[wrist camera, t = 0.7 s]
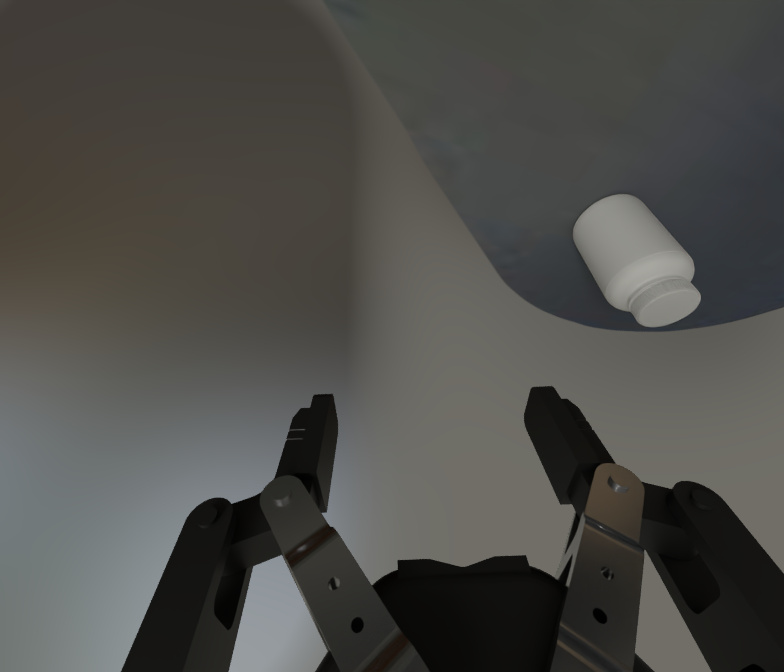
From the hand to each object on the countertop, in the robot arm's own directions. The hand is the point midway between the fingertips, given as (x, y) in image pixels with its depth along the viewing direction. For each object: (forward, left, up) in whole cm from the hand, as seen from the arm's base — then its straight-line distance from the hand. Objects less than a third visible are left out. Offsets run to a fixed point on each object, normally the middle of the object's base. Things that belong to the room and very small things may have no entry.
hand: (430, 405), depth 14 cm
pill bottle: (+22, +17, -30) cm, 41 cm away
